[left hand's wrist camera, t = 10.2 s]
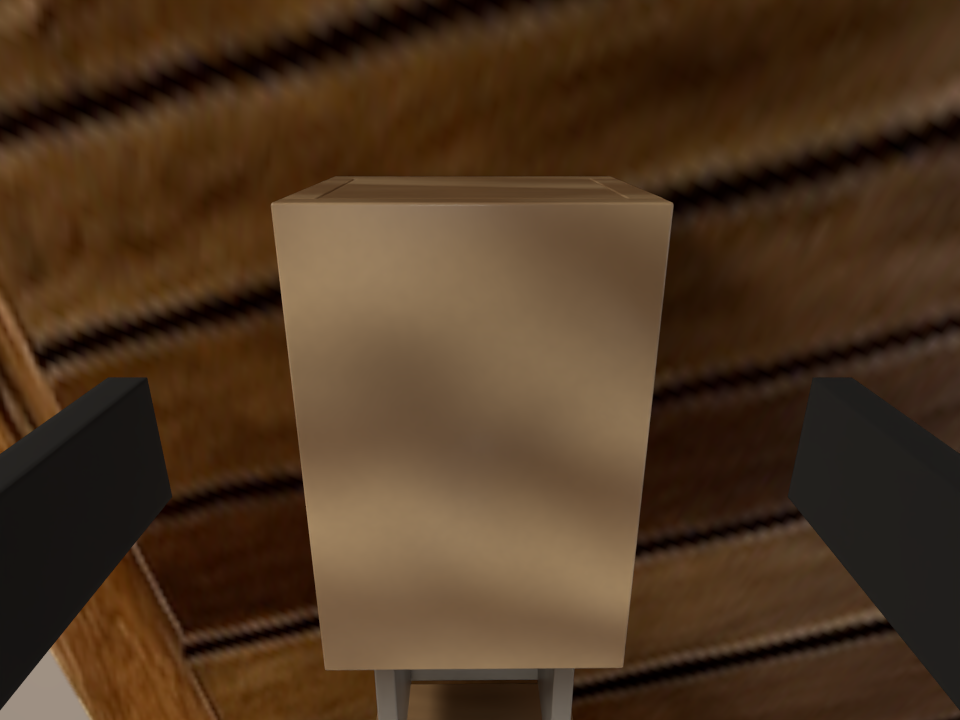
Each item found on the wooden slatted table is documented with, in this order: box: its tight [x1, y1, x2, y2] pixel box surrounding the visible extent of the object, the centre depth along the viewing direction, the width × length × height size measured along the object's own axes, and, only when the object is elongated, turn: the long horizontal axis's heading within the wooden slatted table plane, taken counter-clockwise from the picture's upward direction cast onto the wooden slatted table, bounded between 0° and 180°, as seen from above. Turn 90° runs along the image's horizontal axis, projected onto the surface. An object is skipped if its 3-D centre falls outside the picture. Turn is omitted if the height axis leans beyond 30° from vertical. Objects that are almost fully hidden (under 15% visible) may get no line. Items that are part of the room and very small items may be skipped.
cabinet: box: [271, 176, 674, 670], centre depth 23 cm, size 16×11×8 cm, turn 0°
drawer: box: [374, 668, 574, 720], centre depth 28 cm, size 20×10×6 cm, turn 0°
